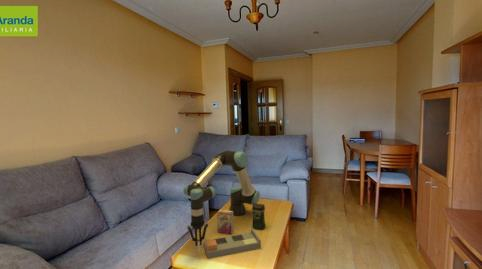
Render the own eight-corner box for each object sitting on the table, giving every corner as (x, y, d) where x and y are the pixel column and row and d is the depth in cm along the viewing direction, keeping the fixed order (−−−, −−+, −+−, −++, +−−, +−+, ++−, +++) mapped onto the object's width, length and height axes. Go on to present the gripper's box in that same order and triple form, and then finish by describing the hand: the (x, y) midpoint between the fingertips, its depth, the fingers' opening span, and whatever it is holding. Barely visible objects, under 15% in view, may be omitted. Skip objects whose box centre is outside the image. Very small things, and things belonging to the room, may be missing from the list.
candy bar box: (217, 232, 180) (216, 211, 178) (220, 229, 185) (219, 208, 183) (231, 235, 176) (231, 213, 175) (234, 231, 181) (233, 210, 179)
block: (206, 247, 157) (206, 241, 157) (215, 245, 159) (215, 239, 158) (207, 252, 151) (207, 246, 151) (217, 250, 153) (217, 244, 153)
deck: (203, 244, 165) (203, 236, 164) (252, 235, 175) (252, 228, 174) (207, 258, 149) (207, 250, 148) (260, 248, 159) (260, 240, 158)
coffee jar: (266, 226, 189) (266, 203, 187) (263, 230, 181) (262, 207, 180) (254, 223, 193) (254, 201, 191) (251, 228, 185) (250, 205, 184)
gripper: (186, 218, 144) (188, 255, 146) (208, 215, 148) (210, 251, 150) (186, 213, 151) (187, 248, 153) (206, 210, 155) (208, 245, 157)
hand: (198, 250), depth 152 cm, fingers closed
